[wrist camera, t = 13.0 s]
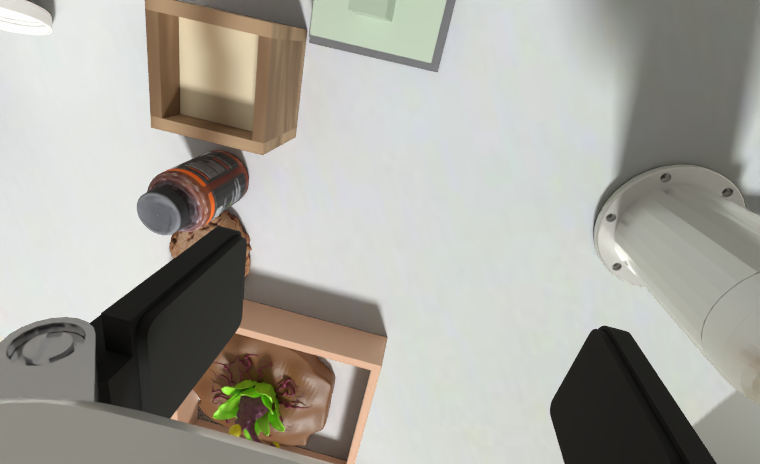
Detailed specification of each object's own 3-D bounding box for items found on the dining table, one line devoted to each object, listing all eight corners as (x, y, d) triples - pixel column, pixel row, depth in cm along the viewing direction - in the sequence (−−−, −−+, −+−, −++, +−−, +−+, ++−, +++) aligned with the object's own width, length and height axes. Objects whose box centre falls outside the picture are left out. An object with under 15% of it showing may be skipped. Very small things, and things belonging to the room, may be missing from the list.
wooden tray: (387, 337, 49) (381, 366, 44) (351, 467, 60) (344, 500, 56) (191, 285, 50) (166, 307, 46) (192, 421, 61) (172, 450, 57)
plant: (356, 362, 52) (334, 436, 42) (310, 447, 60) (283, 526, 50) (216, 301, 51) (160, 361, 41) (190, 396, 60) (138, 465, 50)
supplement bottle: (195, 147, 42) (116, 177, 32) (247, 150, 42) (183, 182, 31) (204, 199, 45) (133, 242, 35) (254, 203, 44) (196, 248, 34)
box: (307, 29, 36) (272, 23, 29) (295, 137, 40) (262, 155, 33) (204, 5, 36) (144, -7, 29) (203, 114, 41) (151, 127, 34)
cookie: (258, 215, 45) (246, 226, 42) (251, 290, 50) (240, 304, 47) (176, 194, 45) (159, 202, 43) (176, 270, 50) (161, 282, 47)
